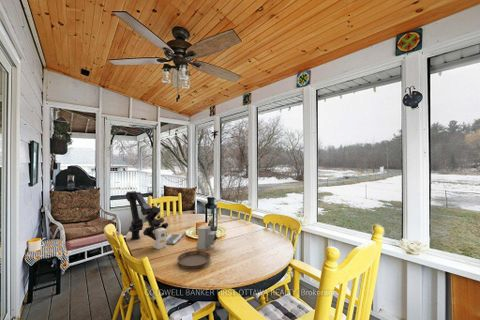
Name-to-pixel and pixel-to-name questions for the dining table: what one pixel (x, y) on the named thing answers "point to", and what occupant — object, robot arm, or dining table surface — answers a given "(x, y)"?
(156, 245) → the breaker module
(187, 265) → the plant saucer
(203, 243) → the circuit breaker
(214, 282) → the dining table surface
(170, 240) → the rail plate
